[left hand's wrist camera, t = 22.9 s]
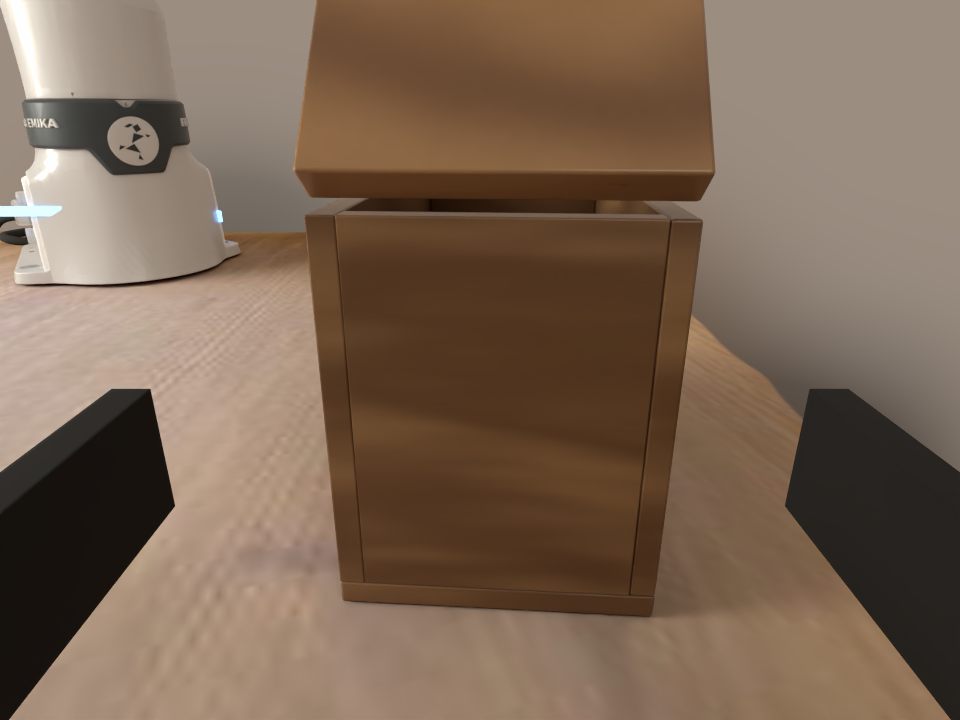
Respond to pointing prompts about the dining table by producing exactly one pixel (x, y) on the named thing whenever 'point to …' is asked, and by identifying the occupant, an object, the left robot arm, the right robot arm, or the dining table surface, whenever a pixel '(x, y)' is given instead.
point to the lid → (507, 100)
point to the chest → (501, 395)
